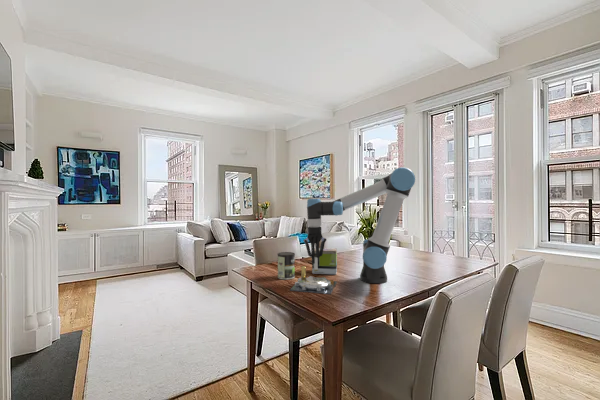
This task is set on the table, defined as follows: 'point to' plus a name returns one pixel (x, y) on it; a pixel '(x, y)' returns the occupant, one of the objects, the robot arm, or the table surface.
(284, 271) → the coffee can
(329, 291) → the base plate
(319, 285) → the sprocket
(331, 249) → the tea box
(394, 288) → the table surface
